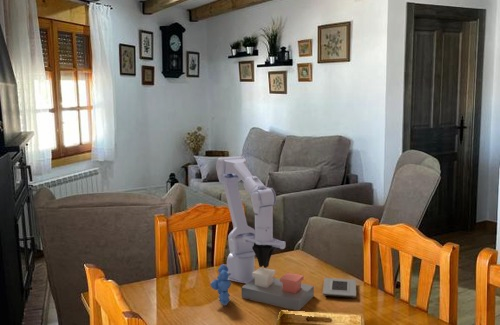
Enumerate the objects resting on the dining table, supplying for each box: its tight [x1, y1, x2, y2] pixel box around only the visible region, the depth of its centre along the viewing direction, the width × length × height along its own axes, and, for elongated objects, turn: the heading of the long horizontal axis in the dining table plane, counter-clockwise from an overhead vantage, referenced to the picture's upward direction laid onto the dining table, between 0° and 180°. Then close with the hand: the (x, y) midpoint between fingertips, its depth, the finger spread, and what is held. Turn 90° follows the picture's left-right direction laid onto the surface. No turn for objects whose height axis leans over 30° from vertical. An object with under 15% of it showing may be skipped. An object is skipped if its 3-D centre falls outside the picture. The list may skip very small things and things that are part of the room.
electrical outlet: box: [322, 277, 357, 299], centre depth 165 cm, size 13×10×2 cm
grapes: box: [210, 263, 232, 306], centre depth 156 cm, size 12×7×12 cm, turn 5°
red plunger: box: [279, 272, 305, 294], centre depth 158 cm, size 6×6×5 cm
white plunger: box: [252, 266, 276, 288], centre depth 162 cm, size 6×6×5 cm
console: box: [241, 277, 315, 311], centre depth 160 cm, size 20×12×4 cm, turn 61°
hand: (263, 266), depth 162 cm, fingers closed
